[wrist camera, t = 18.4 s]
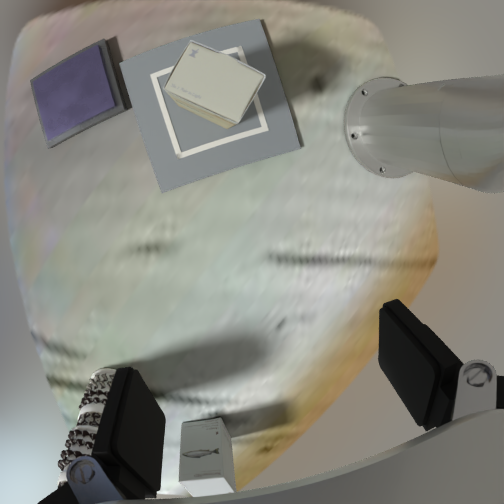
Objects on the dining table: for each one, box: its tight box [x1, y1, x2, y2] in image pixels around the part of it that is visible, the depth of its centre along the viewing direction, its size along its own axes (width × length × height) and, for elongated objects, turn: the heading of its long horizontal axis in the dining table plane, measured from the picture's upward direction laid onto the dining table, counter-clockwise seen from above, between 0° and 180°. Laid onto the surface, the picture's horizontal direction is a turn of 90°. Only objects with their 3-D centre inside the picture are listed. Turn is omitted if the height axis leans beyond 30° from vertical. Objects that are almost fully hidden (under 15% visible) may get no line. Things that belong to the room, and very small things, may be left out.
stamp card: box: [119, 19, 301, 193], centre depth 30 cm, size 16×16×1 cm
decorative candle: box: [57, 368, 116, 488], centre depth 31 cm, size 9×9×25 cm
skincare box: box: [163, 40, 266, 129], centre depth 24 cm, size 6×4×12 cm
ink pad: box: [30, 39, 127, 148], centre depth 27 cm, size 10×9×2 cm
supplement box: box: [179, 417, 236, 497], centre depth 43 cm, size 7×7×13 cm
